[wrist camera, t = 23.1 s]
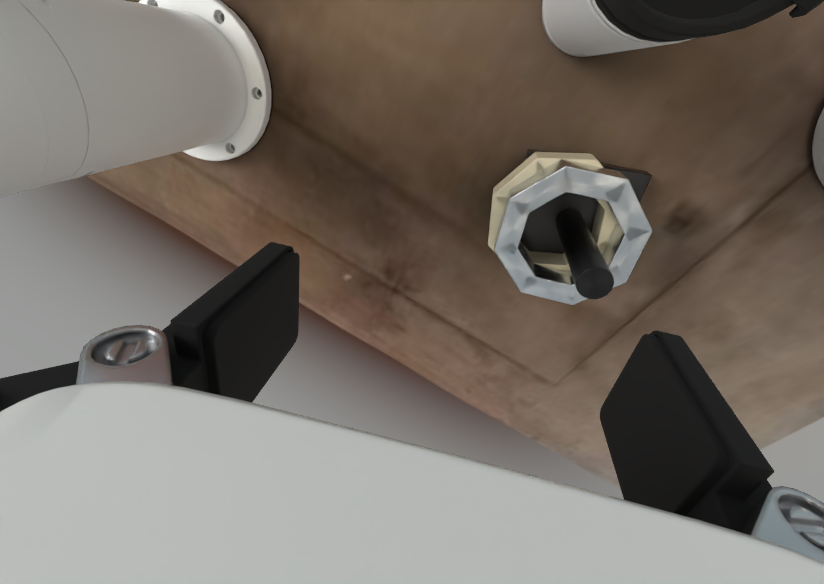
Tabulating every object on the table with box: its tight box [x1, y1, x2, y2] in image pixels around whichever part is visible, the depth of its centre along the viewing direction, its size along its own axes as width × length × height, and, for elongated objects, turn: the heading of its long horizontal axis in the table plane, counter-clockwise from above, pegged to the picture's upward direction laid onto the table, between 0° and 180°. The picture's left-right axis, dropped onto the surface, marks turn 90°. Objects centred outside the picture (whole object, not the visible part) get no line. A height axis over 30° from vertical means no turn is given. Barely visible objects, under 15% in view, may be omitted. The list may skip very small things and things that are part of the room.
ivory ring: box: [488, 152, 616, 271], centre depth 31 cm, size 10×10×2 cm
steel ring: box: [494, 159, 653, 305], centre depth 29 cm, size 10×10×2 cm
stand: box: [520, 150, 652, 299], centre depth 28 cm, size 9×9×12 cm
